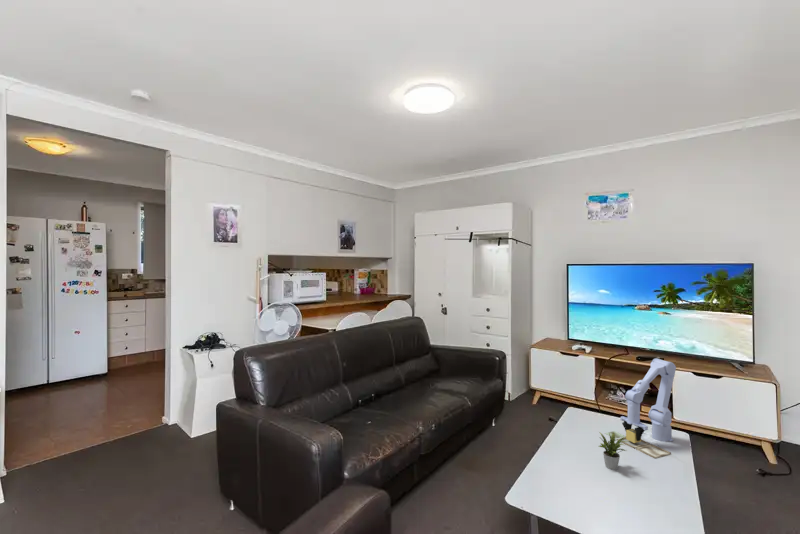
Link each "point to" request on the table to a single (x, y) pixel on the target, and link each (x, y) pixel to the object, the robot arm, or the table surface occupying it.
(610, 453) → the house plant
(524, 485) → the table surface
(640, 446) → the organizer board
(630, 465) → the table surface
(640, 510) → the table surface
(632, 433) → the letter cube
